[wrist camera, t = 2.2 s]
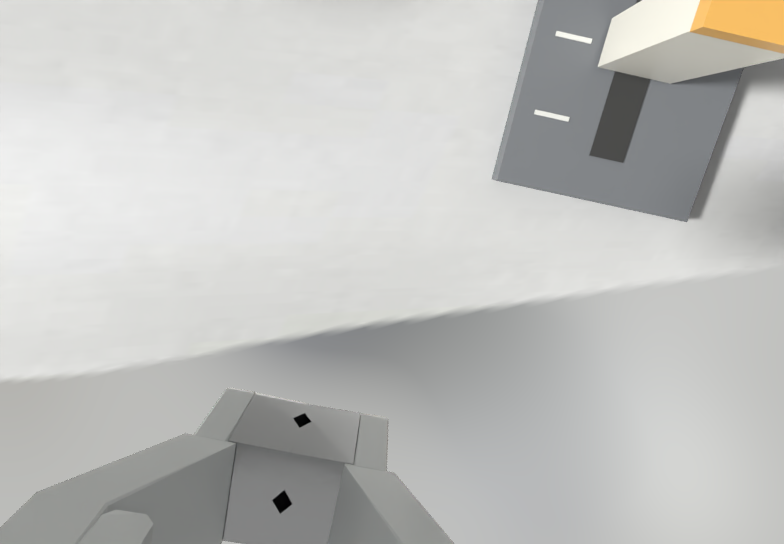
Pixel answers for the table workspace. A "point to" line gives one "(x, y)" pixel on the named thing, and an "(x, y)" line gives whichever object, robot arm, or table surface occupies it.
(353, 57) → the table surface
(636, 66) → the fader tab
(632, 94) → the console board
